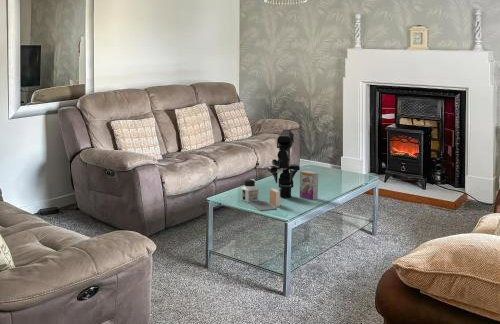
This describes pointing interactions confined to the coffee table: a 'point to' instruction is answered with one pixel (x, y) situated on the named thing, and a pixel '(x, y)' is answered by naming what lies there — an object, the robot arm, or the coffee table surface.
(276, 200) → the cream rectangular block
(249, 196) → the container
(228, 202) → the coffee table surface
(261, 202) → the mat
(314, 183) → the candy bar box
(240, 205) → the coffee table surface
